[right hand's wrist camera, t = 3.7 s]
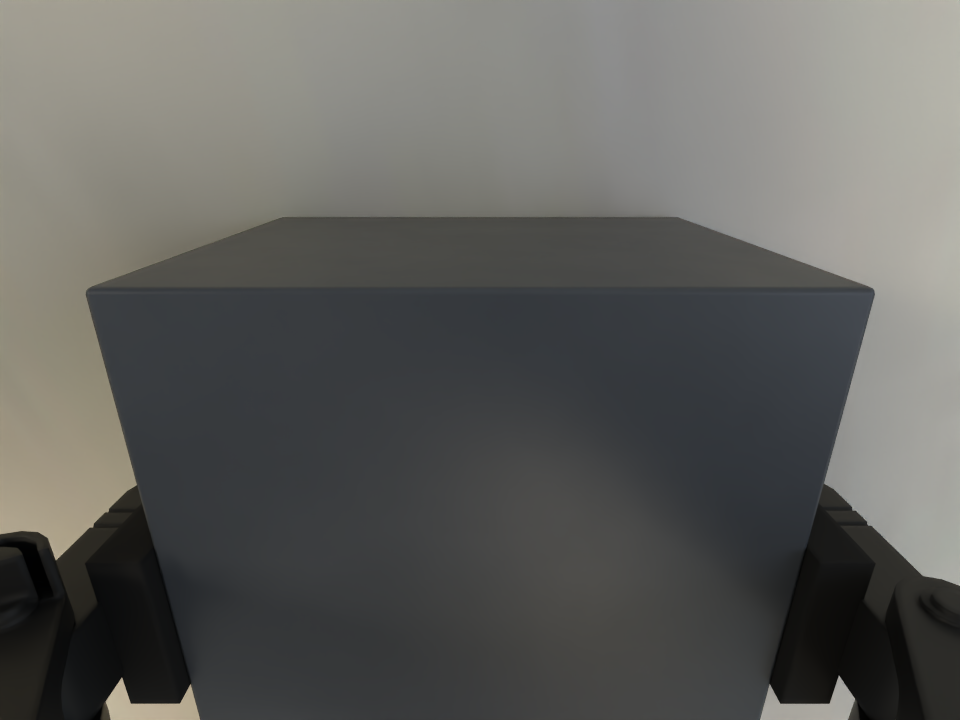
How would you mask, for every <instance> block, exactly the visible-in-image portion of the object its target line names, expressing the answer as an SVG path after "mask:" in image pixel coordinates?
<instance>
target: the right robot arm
mask: <svg viewBox="0 0 960 720" xmlns="http://www.w3.org/2000/svg"><path fill="white" fill-rule="evenodd" d="M838 676H840V677H841V679H842V680H843V682H844V683H845V685H846V686H847V687H848V689H849V690H850V692H851V693H852V695H853V696H854V698H855V702H854V704H853V707H852V710H851V713H850V716H849V719H848V720H960V586H958V585H956V584H953V583H950V582H947V581H945V580H942V579H936V578H930V577H925V576H922V575H921V574H920V573H919V572H918V571H917V570H916V569H915V568H914V567H913V566H912V565H911V564H910V563H909V562H908V561H907V560H906V559H905V558H904V557H903V556H902V555H901V554H900V553H899V552H898V551H897V550H895V549H894V548H893V547H892V546H891V545H890V544H889V543H888V542H887V541H886V540H885V539H884V538H883V537H882V536H881V535H880V534H879V533H878V532H877V531H876V530H875V529H874V528H873V527H872V526H868V525H867V521H866V520H865V519H864V518H863V517H862V516H860V515H859V514H858V513H857V512H856V511H852V507H851V506H850V505H849V504H848V503H847V502H846V501H845V500H844V499H843V498H842V497H841V496H840V495H839V494H838V493H837V492H836V491H835V490H834V489H832V488H830V487H829V486H827V485H825V484H823V488H822V492H821V495H820V499H819V503H818V506H817V510H816V514H815V518H814V521H813V525H812V529H811V532H810V536H809V540H808V543H807V547H806V551H805V555H804V558H803V562H802V566H801V569H800V573H799V577H798V580H797V584H796V588H795V592H794V595H793V599H792V603H791V606H790V610H789V614H788V618H787V621H786V625H785V629H784V632H783V636H782V640H781V643H780V647H779V651H778V655H777V658H776V662H775V666H774V669H773V673H772V677H771V680H770V685H771V687H772V689H773V691H774V693H775V694H776V696H777V698H778V700H779V702H780V704H829V703H830V700H831V697H832V694H833V691H834V688H835V685H836V682H837V679H838ZM121 678H123V681H124V684H125V687H126V690H127V693H128V696H129V699H130V702H131V704H180V702H181V701H182V699H183V697H184V695H185V693H186V691H187V689H188V687H189V686H190V684H191V683H190V679H189V675H188V672H187V668H186V664H185V661H184V657H183V653H182V649H181V646H180V642H179V638H178V635H177V631H176V627H175V623H174V620H173V616H172V612H171V609H170V605H169V601H168V597H167V594H166V590H165V586H164V583H163V579H162V575H161V572H160V568H159V564H158V560H157V557H156V553H155V549H154V546H153V542H152V538H151V534H150V531H149V527H148V523H147V520H146V516H145V512H144V508H143V505H142V501H141V497H140V494H139V490H138V486H135V487H133V488H132V489H130V490H128V491H127V492H126V493H125V494H124V495H123V496H122V497H121V498H120V499H119V500H118V501H117V502H116V503H115V504H114V505H113V506H112V507H111V508H110V509H109V512H108V513H104V514H103V515H102V516H101V517H100V518H99V519H98V520H97V521H96V522H95V523H94V527H93V528H89V529H88V530H87V531H86V532H85V533H84V534H83V535H82V536H81V537H80V538H79V539H78V540H77V541H76V542H75V543H74V544H73V545H72V546H71V547H70V548H69V549H68V550H67V551H66V552H65V553H64V554H63V555H61V556H60V557H59V558H58V559H57V560H55V558H54V555H53V552H52V549H51V546H50V543H49V541H48V538H47V537H45V536H43V535H42V534H40V533H38V532H26V531H19V532H13V533H7V534H0V720H110V715H109V710H108V707H107V704H106V702H105V701H106V700H107V698H108V697H109V695H110V694H111V692H112V691H113V689H114V688H115V687H116V685H117V684H118V682H119V681H120V679H121Z"/></svg>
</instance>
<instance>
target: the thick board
mask: <svg viewBox="0 0 960 720" xmlns="http://www.w3.org/2000/svg"><path fill="white" fill-rule="evenodd" d="M874 295H875V293H874V290H873V288H870V287H868V286H865V285H863V284H860V283H857V282H854V281H852V280H849V279H846V278H843V277H841V276H838V275H835V274H832V273H830V272H827V271H824V270H821V269H819V268H816V267H813V266H810V265H807V264H805V263H802V262H799V261H796V260H794V259H791V258H788V257H785V256H783V255H780V254H777V253H774V252H772V251H769V250H766V249H763V248H761V247H758V246H755V245H752V244H750V243H747V242H744V241H741V240H739V239H736V238H733V237H730V236H728V235H725V234H722V233H719V232H717V231H714V230H711V229H708V228H705V227H703V226H700V225H697V224H694V223H692V222H689V221H686V220H683V219H681V218H678V217H282V218H279V219H277V220H274V221H271V222H268V223H266V224H263V225H260V226H257V227H255V228H252V229H249V230H246V231H244V232H241V233H238V234H235V235H233V236H230V237H227V238H224V239H222V240H219V241H216V242H213V243H211V244H208V245H205V246H202V247H200V248H197V249H194V250H191V251H189V252H186V253H183V254H180V255H178V256H175V257H172V258H169V259H167V260H164V261H161V262H158V263H156V264H153V265H150V266H147V267H145V268H142V269H139V270H136V271H134V272H131V273H128V274H125V275H123V276H120V277H117V278H114V279H112V280H109V281H106V282H103V283H101V284H98V285H95V286H92V287H90V288H88V289H87V290H86V297H87V301H88V304H89V308H90V312H91V316H92V319H93V323H94V327H95V330H96V334H97V338H98V341H99V345H100V349H101V353H102V356H103V360H104V364H105V367H106V371H107V375H108V379H109V382H110V386H111V390H112V393H113V397H114V401H115V405H116V408H117V412H118V416H119V419H120V423H121V427H122V431H123V434H124V438H125V442H126V445H127V449H128V453H129V456H130V460H131V464H132V468H133V471H134V475H135V479H136V482H137V486H138V490H139V494H140V497H141V501H142V505H143V508H144V512H145V516H146V520H147V523H148V527H149V531H150V534H151V538H152V542H153V546H154V549H155V553H156V557H157V560H158V564H159V568H160V572H161V575H162V579H163V583H164V586H165V590H166V594H167V597H168V601H169V605H170V609H171V612H172V616H173V620H174V623H175V627H176V631H177V635H178V638H179V642H180V646H181V649H182V653H183V657H184V661H185V664H186V668H187V672H188V675H189V679H190V683H191V687H192V690H193V694H194V698H195V701H196V705H197V709H198V713H199V716H200V720H760V717H761V714H762V710H763V706H764V703H765V699H766V695H767V692H768V688H769V684H770V680H771V677H772V673H773V669H774V666H775V662H776V658H777V655H778V651H779V647H780V643H781V640H782V636H783V632H784V629H785V625H786V621H787V618H788V614H789V610H790V606H791V603H792V599H793V595H794V592H795V588H796V584H797V580H798V577H799V573H800V569H801V566H802V562H803V558H804V555H805V551H806V547H807V543H808V540H809V536H810V532H811V529H812V525H813V521H814V518H815V514H816V510H817V506H818V503H819V499H820V495H821V492H822V488H823V484H824V481H825V477H826V473H827V469H828V466H829V462H830V458H831V455H832V451H833V447H834V443H835V440H836V436H837V432H838V429H839V425H840V421H841V418H842V414H843V410H844V406H845V403H846V399H847V395H848V392H849V388H850V384H851V381H852V377H853V373H854V369H855V366H856V362H857V358H858V355H859V351H860V347H861V343H862V340H863V336H864V332H865V329H866V325H867V321H868V318H869V314H870V310H871V306H872V303H873V299H874Z"/></svg>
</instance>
